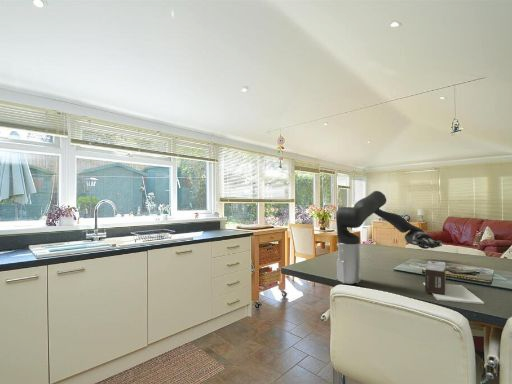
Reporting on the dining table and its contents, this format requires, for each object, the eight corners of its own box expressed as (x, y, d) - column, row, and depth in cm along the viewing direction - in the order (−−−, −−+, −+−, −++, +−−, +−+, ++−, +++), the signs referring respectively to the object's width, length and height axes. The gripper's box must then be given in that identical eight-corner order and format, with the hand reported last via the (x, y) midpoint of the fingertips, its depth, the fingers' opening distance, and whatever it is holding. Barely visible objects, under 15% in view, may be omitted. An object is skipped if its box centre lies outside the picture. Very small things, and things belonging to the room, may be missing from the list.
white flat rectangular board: (423, 283, 114) (423, 282, 114) (461, 286, 109) (461, 285, 110) (437, 300, 97) (437, 298, 97) (484, 304, 92) (484, 302, 92)
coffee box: (446, 283, 112) (445, 296, 99) (428, 280, 116) (424, 292, 103) (445, 261, 112) (444, 272, 99) (427, 259, 116) (424, 269, 103)
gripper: (407, 232, 141) (416, 237, 124) (436, 233, 136) (449, 238, 120) (408, 246, 140) (416, 253, 124) (437, 247, 136) (450, 254, 120)
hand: (432, 245), depth 122 cm, fingers closed
